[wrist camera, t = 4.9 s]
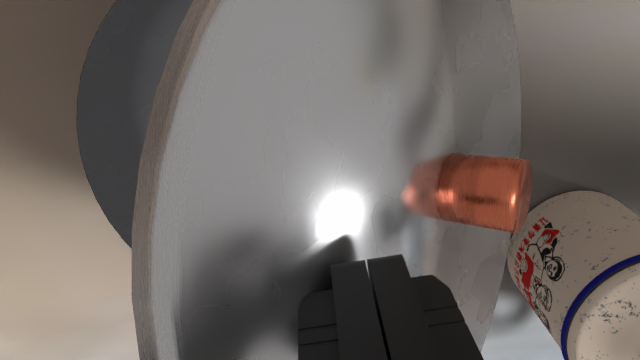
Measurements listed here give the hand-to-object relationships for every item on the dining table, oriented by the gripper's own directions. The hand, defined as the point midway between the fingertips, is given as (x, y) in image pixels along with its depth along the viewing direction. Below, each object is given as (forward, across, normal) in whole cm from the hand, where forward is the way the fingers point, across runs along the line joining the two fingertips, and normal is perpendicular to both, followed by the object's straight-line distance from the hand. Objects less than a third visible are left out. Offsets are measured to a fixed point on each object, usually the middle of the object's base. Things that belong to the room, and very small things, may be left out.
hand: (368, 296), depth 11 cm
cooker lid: (+4, -1, 0) cm, 4 cm away
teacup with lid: (+21, -15, +15) cm, 30 cm away
